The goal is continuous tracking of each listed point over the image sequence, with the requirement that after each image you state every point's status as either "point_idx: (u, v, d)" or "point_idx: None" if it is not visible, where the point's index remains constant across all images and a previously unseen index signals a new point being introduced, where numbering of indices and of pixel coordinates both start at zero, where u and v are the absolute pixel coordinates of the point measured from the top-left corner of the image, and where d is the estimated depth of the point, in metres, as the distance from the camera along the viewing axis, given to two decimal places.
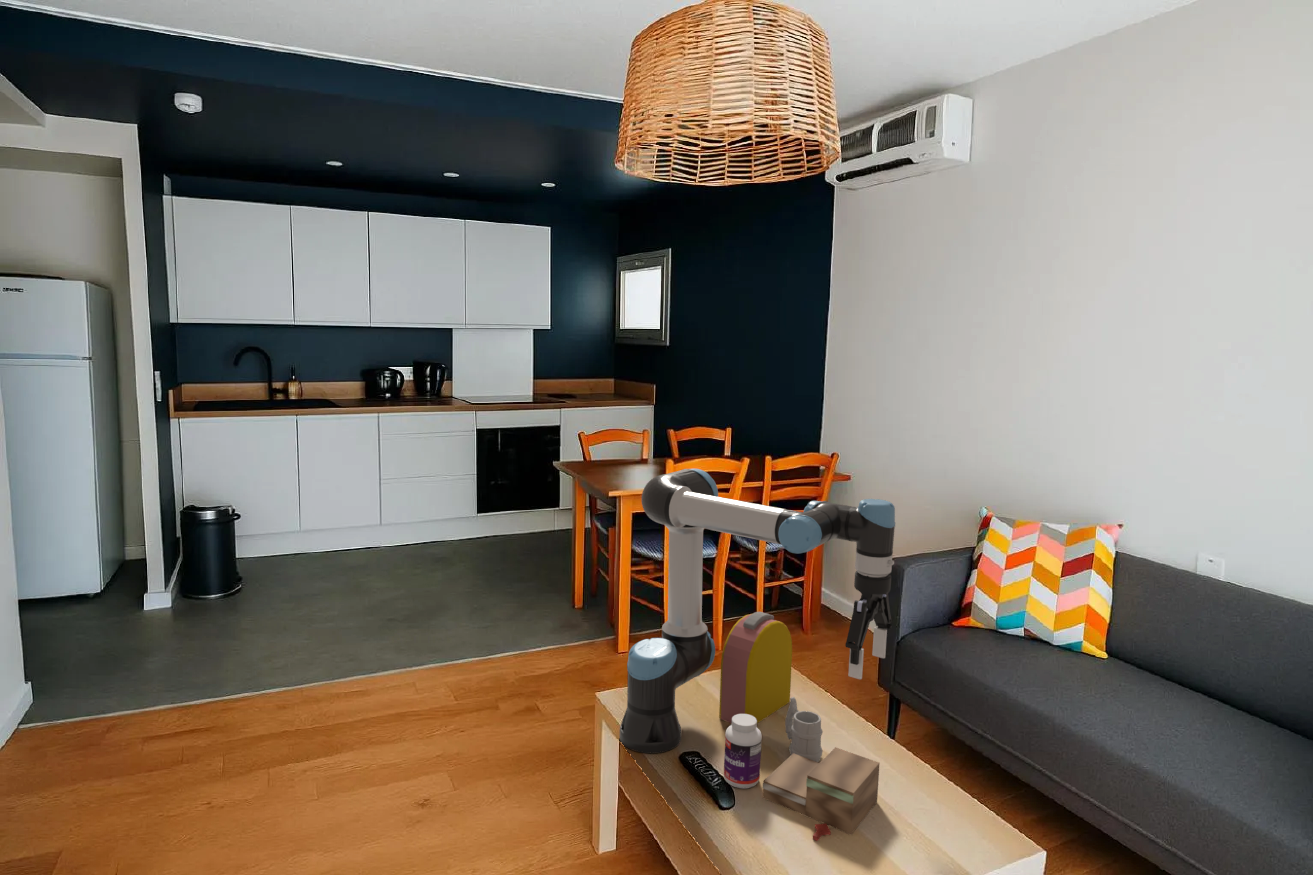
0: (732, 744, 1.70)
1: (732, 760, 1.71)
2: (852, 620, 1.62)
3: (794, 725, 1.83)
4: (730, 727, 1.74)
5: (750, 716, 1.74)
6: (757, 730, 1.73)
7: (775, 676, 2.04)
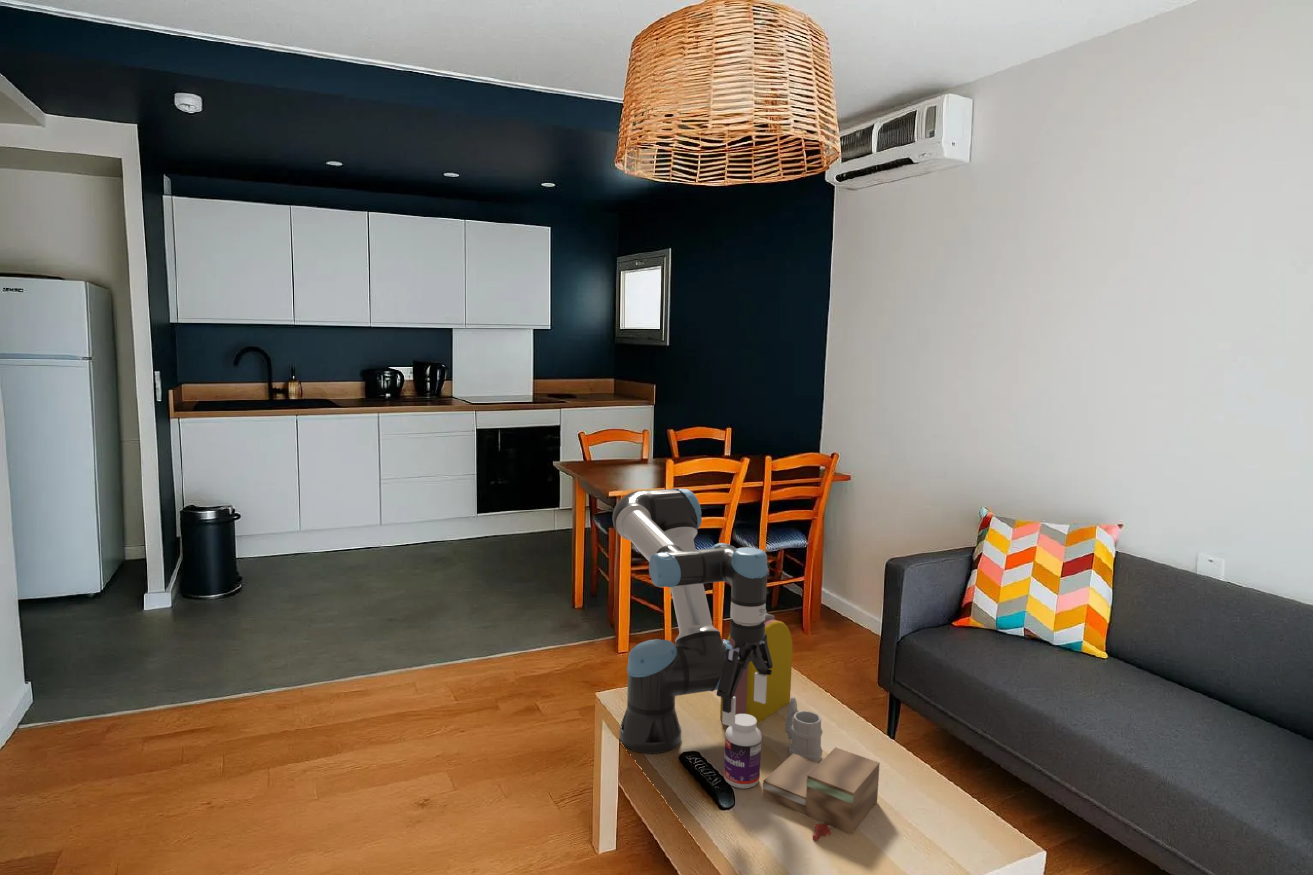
0: (732, 744, 1.70)
1: (732, 760, 1.71)
2: (724, 669, 1.65)
3: (794, 725, 1.83)
4: (730, 727, 1.74)
5: (750, 716, 1.74)
6: (757, 730, 1.73)
7: (775, 676, 2.04)
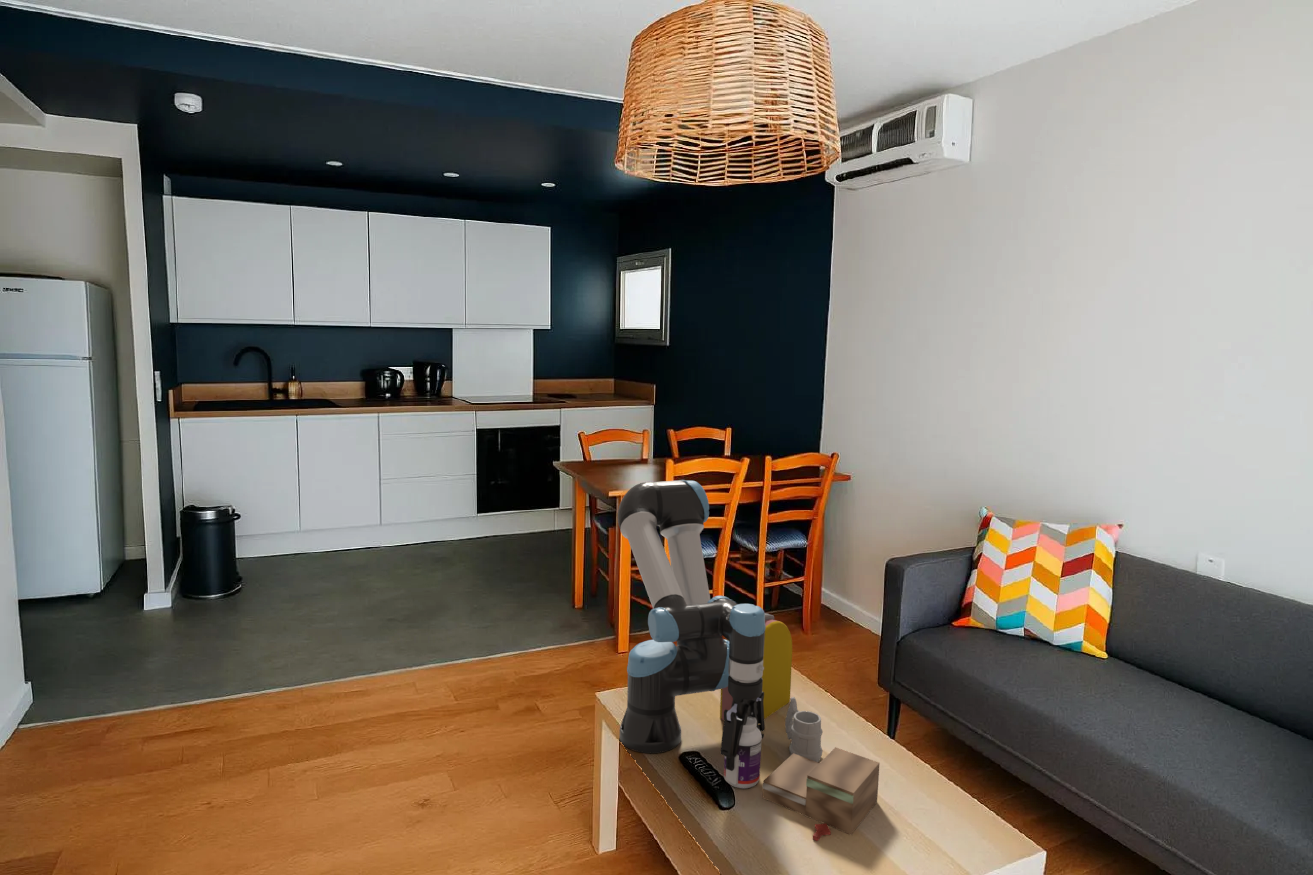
0: None
1: None
2: (724, 729, 1.68)
3: (794, 725, 1.83)
4: None
5: (750, 716, 1.74)
6: (757, 730, 1.73)
7: (775, 676, 2.04)
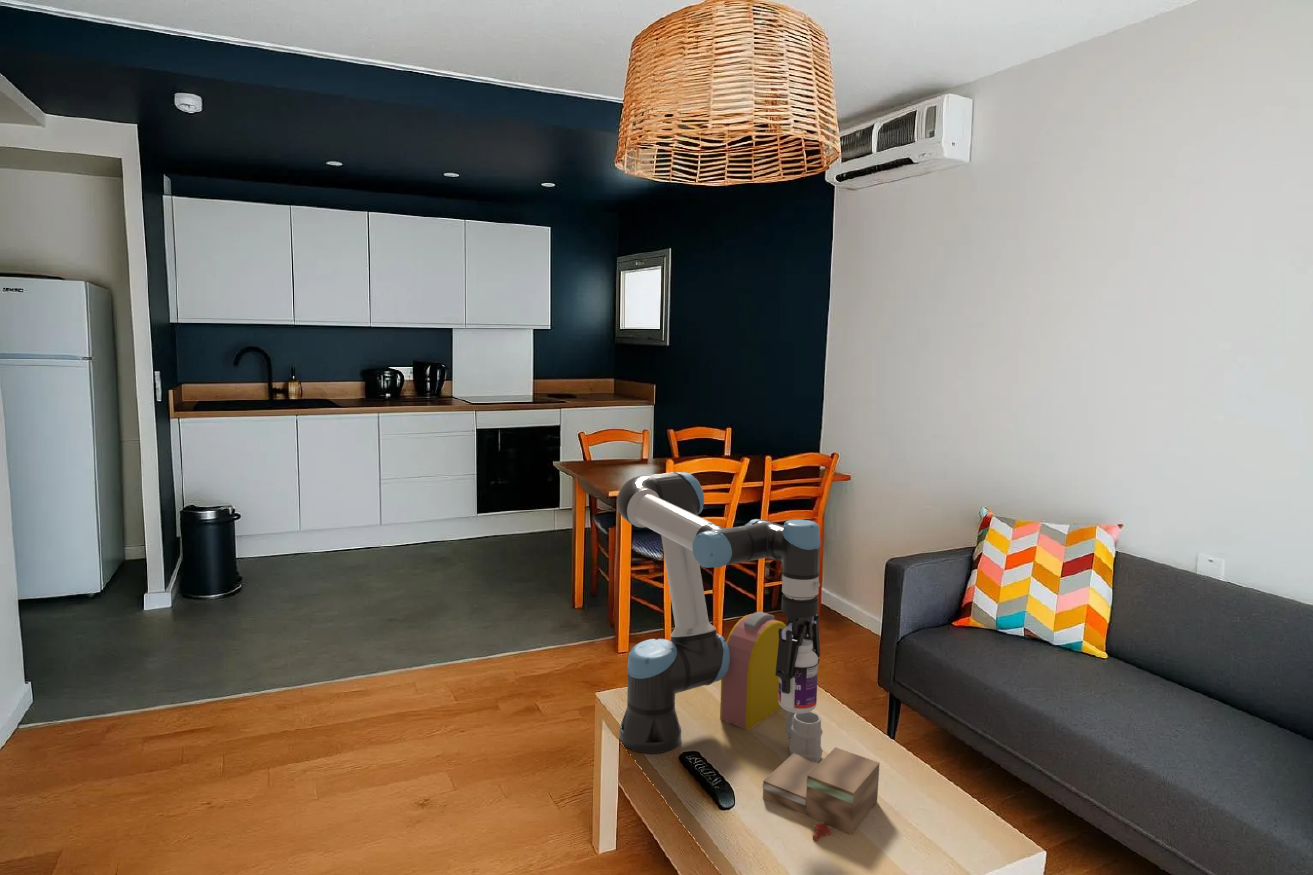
0: None
1: None
2: (779, 649, 1.59)
3: (794, 725, 1.83)
4: None
5: (805, 639, 1.66)
6: (813, 652, 1.64)
7: (775, 676, 2.04)
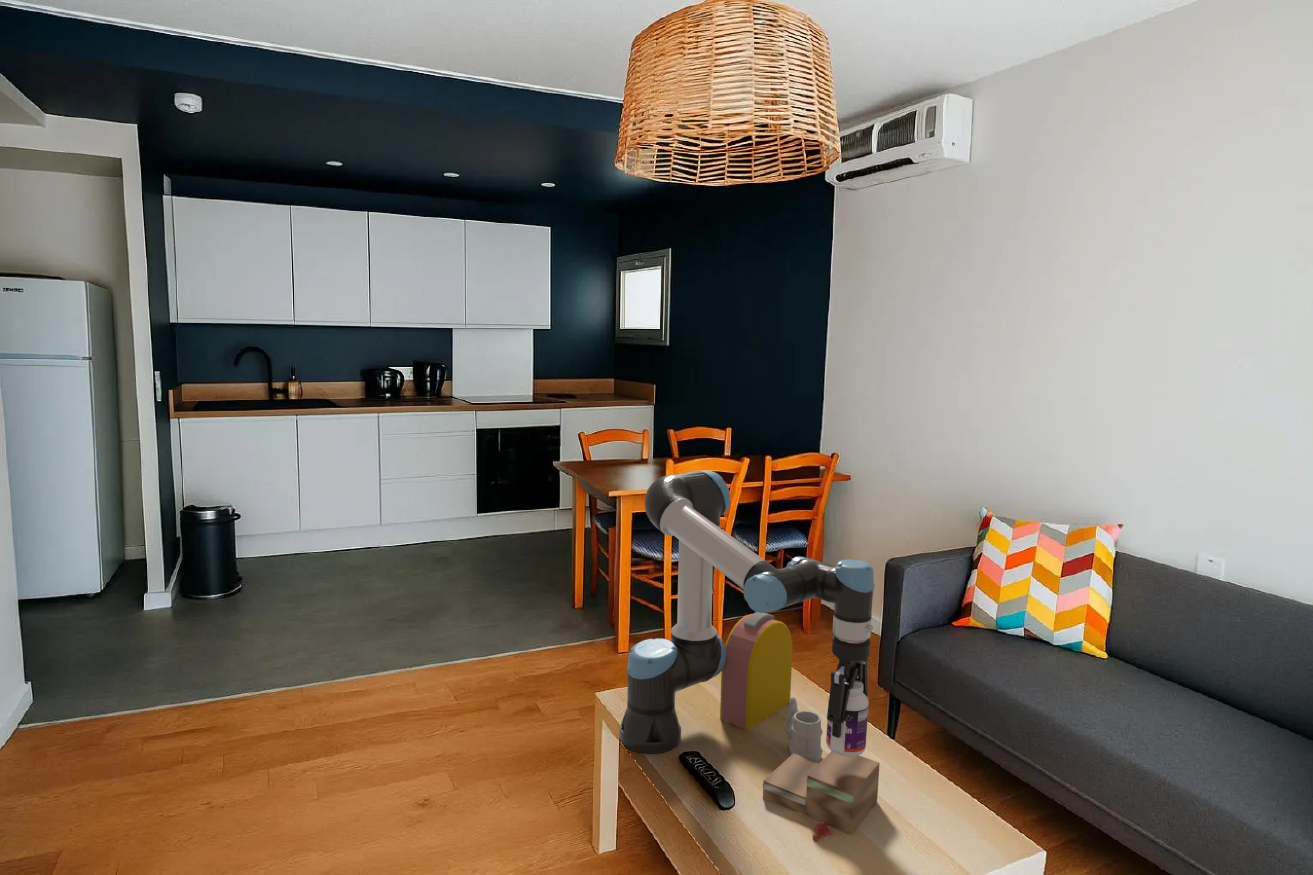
0: None
1: None
2: (831, 693, 1.56)
3: (794, 725, 1.83)
4: None
5: (855, 680, 1.62)
6: (863, 694, 1.61)
7: (775, 676, 2.04)
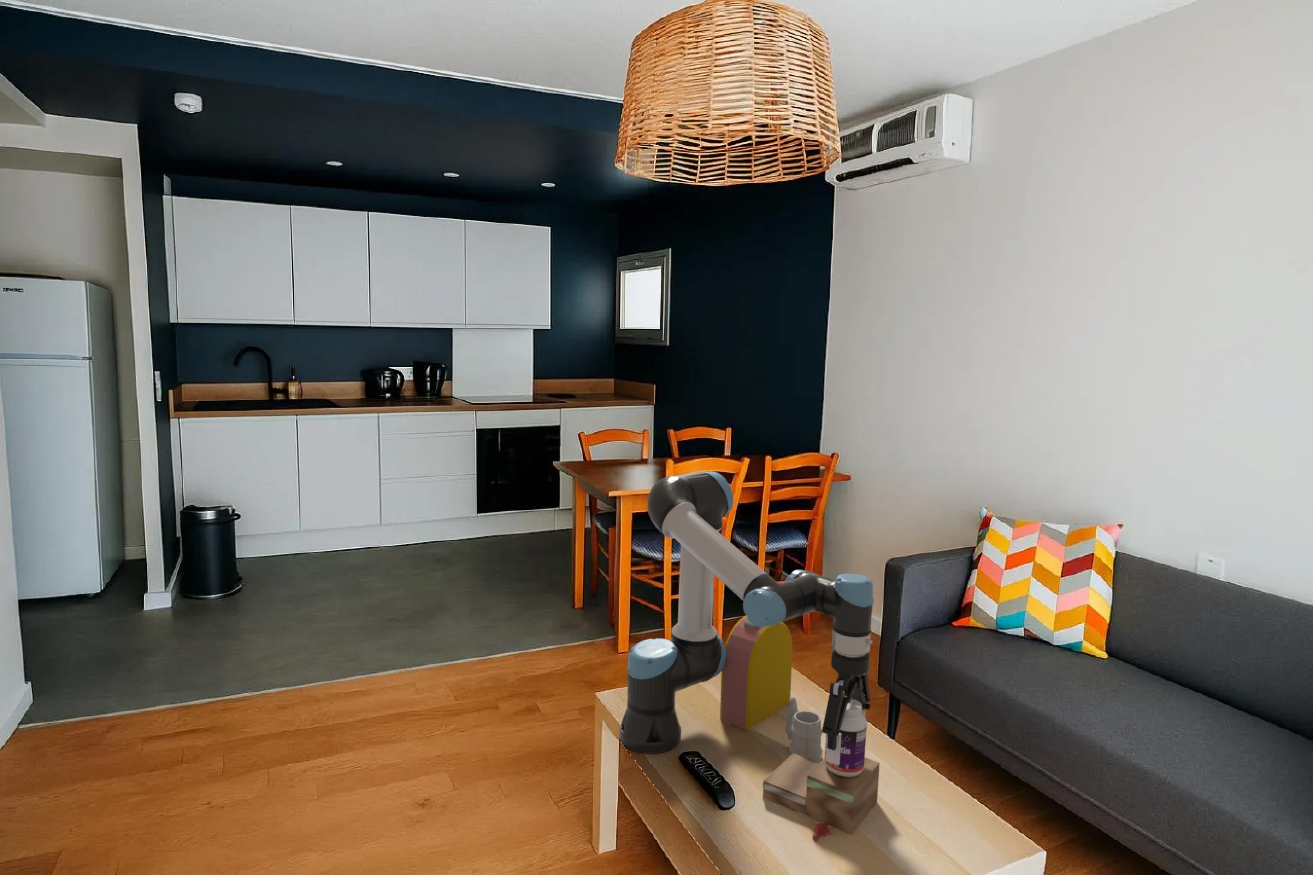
0: None
1: None
2: (828, 704, 1.56)
3: (794, 725, 1.83)
4: None
5: (853, 700, 1.63)
6: (862, 715, 1.62)
7: (775, 676, 2.04)
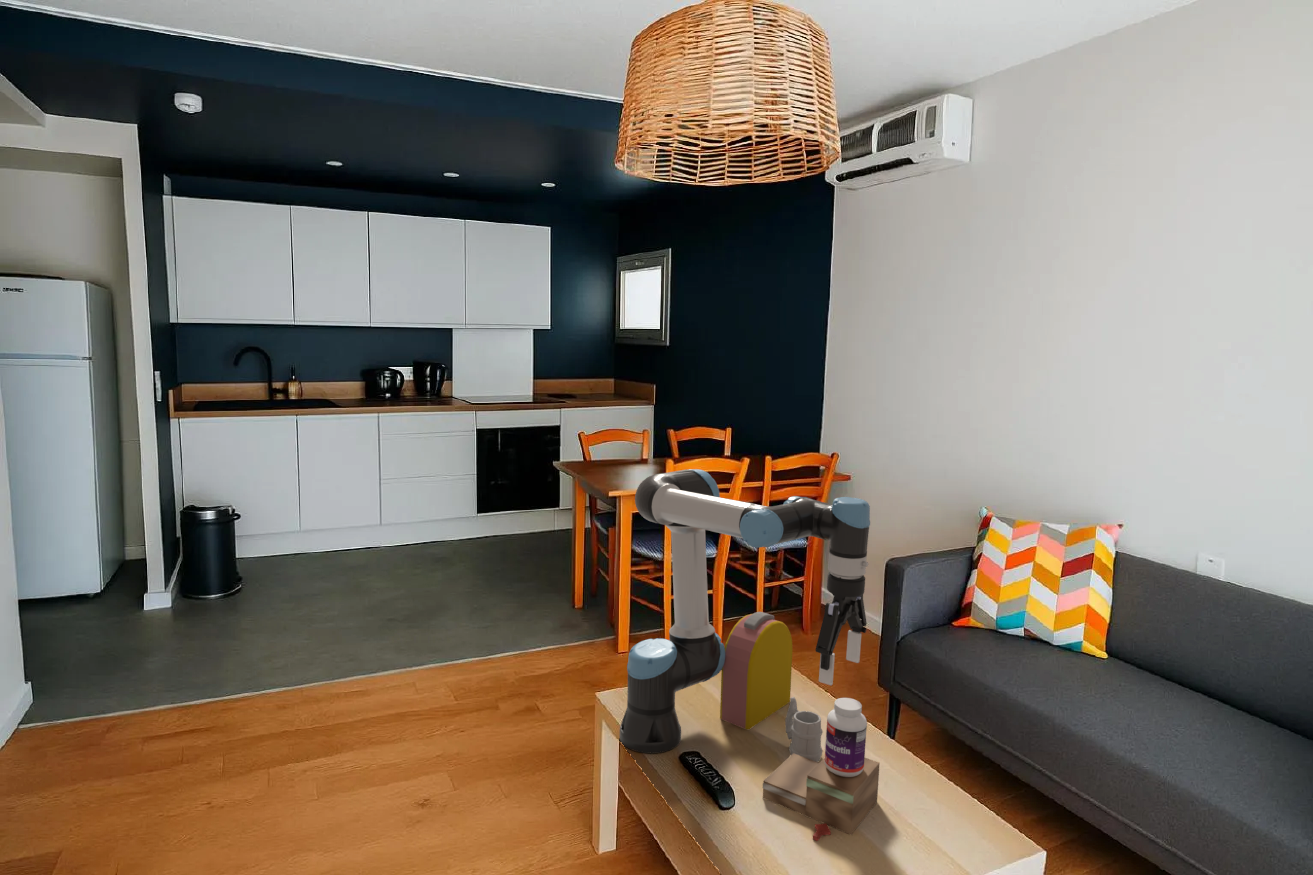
0: (837, 730, 1.59)
1: (836, 747, 1.60)
2: (823, 623, 1.56)
3: (794, 725, 1.83)
4: (832, 712, 1.63)
5: (853, 700, 1.63)
6: (862, 715, 1.62)
7: (775, 676, 2.04)
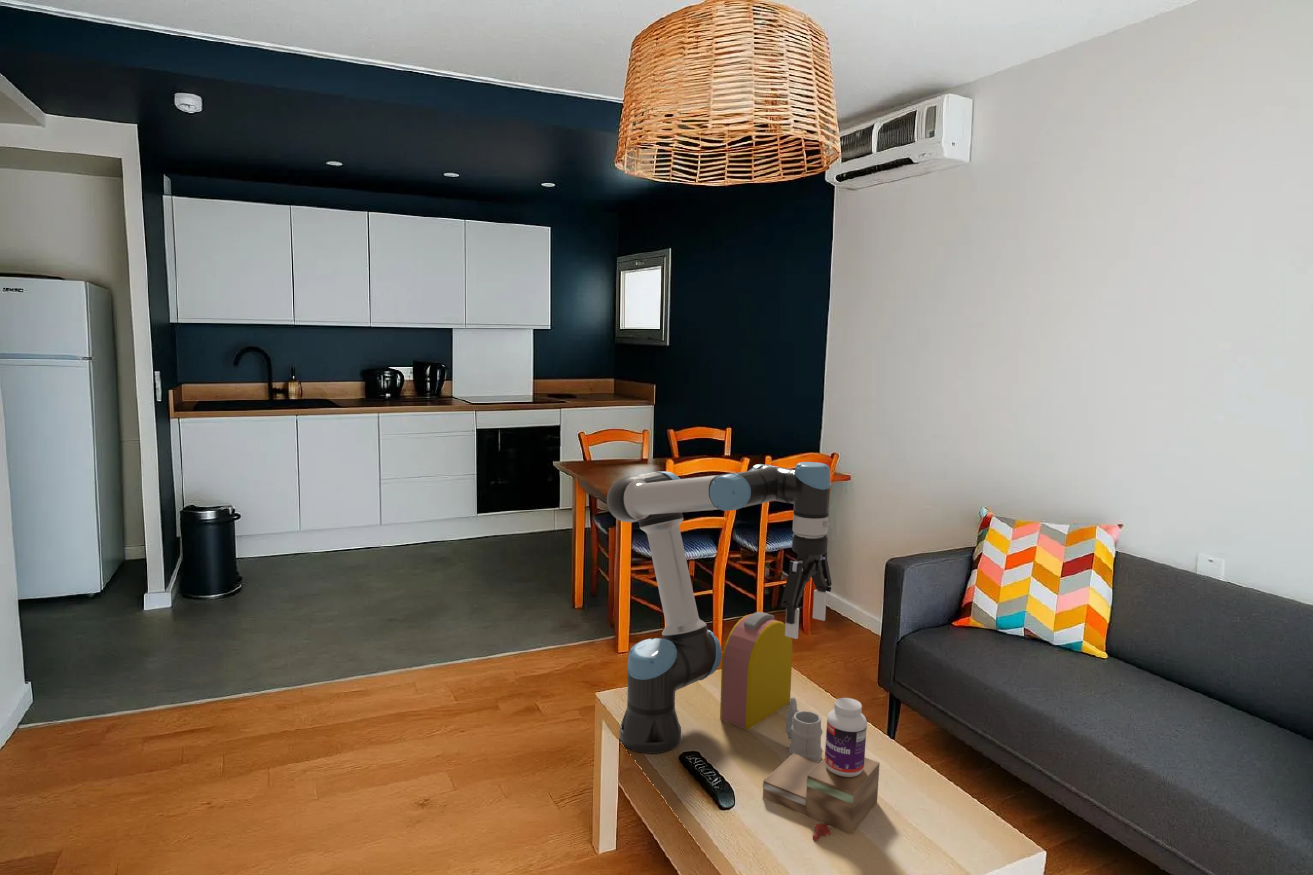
0: (837, 730, 1.59)
1: (836, 747, 1.60)
2: (787, 580, 1.65)
3: (794, 725, 1.83)
4: (832, 712, 1.63)
5: (853, 700, 1.63)
6: (862, 715, 1.62)
7: (775, 676, 2.04)
